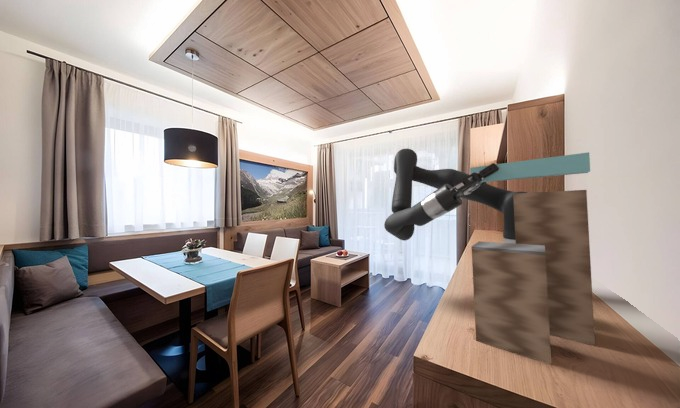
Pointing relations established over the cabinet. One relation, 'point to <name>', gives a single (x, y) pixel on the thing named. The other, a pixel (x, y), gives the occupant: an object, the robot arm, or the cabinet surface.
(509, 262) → the brown wooden block
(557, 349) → the cabinet surface
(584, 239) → the stand
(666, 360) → the cabinet surface
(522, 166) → the batten
